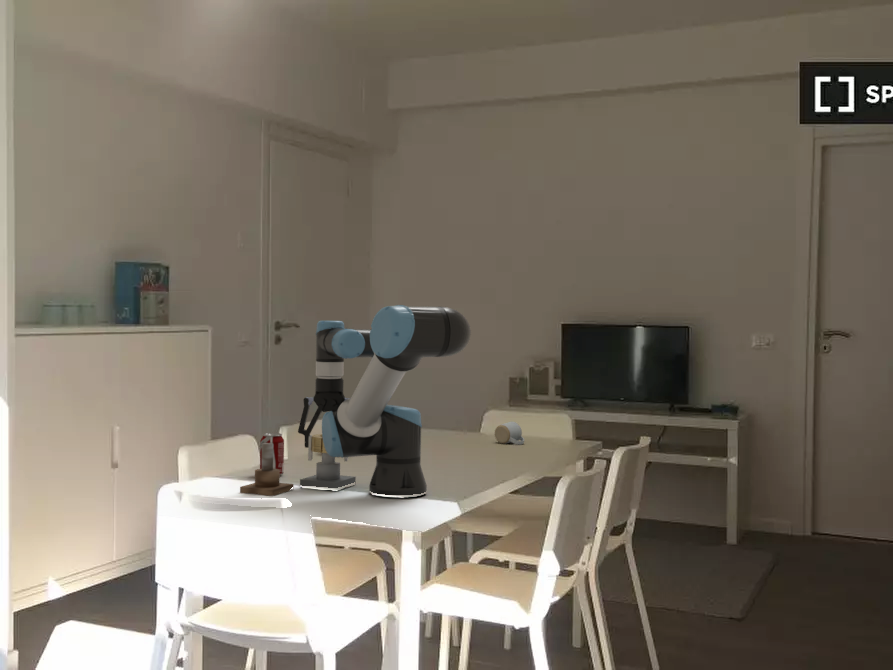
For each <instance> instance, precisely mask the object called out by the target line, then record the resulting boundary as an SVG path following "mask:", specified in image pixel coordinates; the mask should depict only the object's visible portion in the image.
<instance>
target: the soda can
mask: <svg viewBox="0 0 893 670" xmlns="http://www.w3.org/2000/svg"><path fill="white" fill-rule="evenodd" d="M282 435H283V434H282V433H279V432H278V433H277V432H266V433H262V437H261V439H260V441H259V442H260V443H259V444H260V445H259V446H260V447H259V469H262V444H263V443H273V469H279V470H280V475H284V472H285V471H284V470H285V468H284V465H285V439H284V437H283V436H282Z"/></svg>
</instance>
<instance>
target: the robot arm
mask: <svg viewBox="0 0 893 670" xmlns="http://www.w3.org/2000/svg"><path fill="white" fill-rule="evenodd" d="M370 327H371V329H370V328H345V323H344V321H342V320H319V321H318V322H317V323H316V331H315V336H316V337H315V338H316V339H315V349H316V350H315V352H316V353H315V376H316V379H315V388H314V389H315V390H314V395H313V397H312V396H310V397H308V396H306V397H304V398H303V408H302V409H303V411H302V414H301V418H300V421H299V425H298V430H297V432H298V434H301V435H303V436H304V448H305V449H308V451H307V452H308V453H307V456H308V457H307V458H308V459H307V460H308V461H312V460H313V458H314V457H313V456H314V455H313V453H314V452H313V451H311V445H312V435H313V434H311V433H312V432H313V431H312V430H313V429H314V428H315V426H316V423H317V422H318V420H319V417H320V416H321V414H322V412H323V413H324V414H323V416H322V420H321V434H322V437H323V443H324V446H325V449H326V451H327V453H328V454H329V455H330V456H331V457H335V458H342V459H343V461H344V462H348V461H349V458H351V457H352V458H353V457H367V456H376V462H375V467H374V470H373V473H372V475H371V479H370V482H369V486H368V492H369V491H371V492H373V493H377V494H385V495H413V494H421V493H424V492H426V491H427V490H428V489H427V488H428V487H427V486H428V485H427V482H426V479H425V475H424V472H423V469H422V465H421V456H422V455H421V454H422V448H421V447H422V428H423V425H422V416H421V415H422V414H421V412H420V411H419V409H417V408H413V407H408V406H407V407H406V406H401V405H393V404H389V402H390V401H391V400H390V399H392V396H393V395H394V394H395V391H396V390H397V388H398V386H399V384H400V383H401V382H402V379H403V378H404V377H405V374H406V373H407V372H411V371H413V370H414V369H416V368H417V366H418V365H419V364H420V362H421V360H422V359H423V358H444V357H445V358H446V357H451V356H454V355H457V354H459V353H460V352H462V351H463V350H465V348H466V347H467V346H468V345H469V343H470V340H471V335H472V334H471V333H472V332H471V331H472V330H471V326H470V323H469V321H468V319H467V318H466V316H465V315H464V314H463V313H461V312H460V311H459V310H457V309H455V308H451V307H448V306H429V305H428V306H427V305H425V306H424V305H421V306H417V305H405V304H404V305H403V304H395V305H387V306H384V307H382V308H380V309H379V310H378V311H377V313H376V314H375V315H374V317H373V320H372V322H371V324H370ZM355 358H371V360H370V362H369V363H368V364H367V367H366V368H365V370H364V373H363V374H362V376H361V378H360V380H359V382H358V383H357V386H356V387H355V389H354V391H353V393H352V394H351V396H350V398H349V397H345V394H344V378H343V376H345V375H344V370H345V369H344V368H345V366H344V365H345V359H355ZM313 402H314V403H315V404H316V406H317V409H316V411H315V412H314V415H313V417H312V419H311V421H310V422H309V424H308V426H307V428H306V427H305V426H306V423H307V418H308V415H309V412H310V407H311V406H312V405H313ZM305 428H306V429H305ZM427 492H428V491H427Z"/></svg>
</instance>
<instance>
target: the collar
mask: <svg viewBox="0 0 893 670" xmlns="http://www.w3.org/2000/svg"><path fill="white" fill-rule="evenodd" d="M311 435H312V445H311V451H313V453H317V454H318V453H320V454H322V453H327V451H326V449H325V446H324V443H323V437H322V433H316V434H311Z"/></svg>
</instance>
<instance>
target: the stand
mask: <svg viewBox="0 0 893 670" xmlns="http://www.w3.org/2000/svg"><path fill="white" fill-rule="evenodd" d="M280 477H281V476H280V470H279V469H273V443H263V444H262V469H260V468H258V469H255V470H254V482H253V483H250V484H245V485H242V486H241V485H240V486H239V493H241V494H248V495H249V494H253V495H259V496H261V495H262V496H269V497H273V496H277V495H278V496H279V495H281V494H283V493H284V494H285V493H287V492H290V491H289V490H290V489H291V488H292V487H293V488H294V484H293V483H286V482H280Z"/></svg>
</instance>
